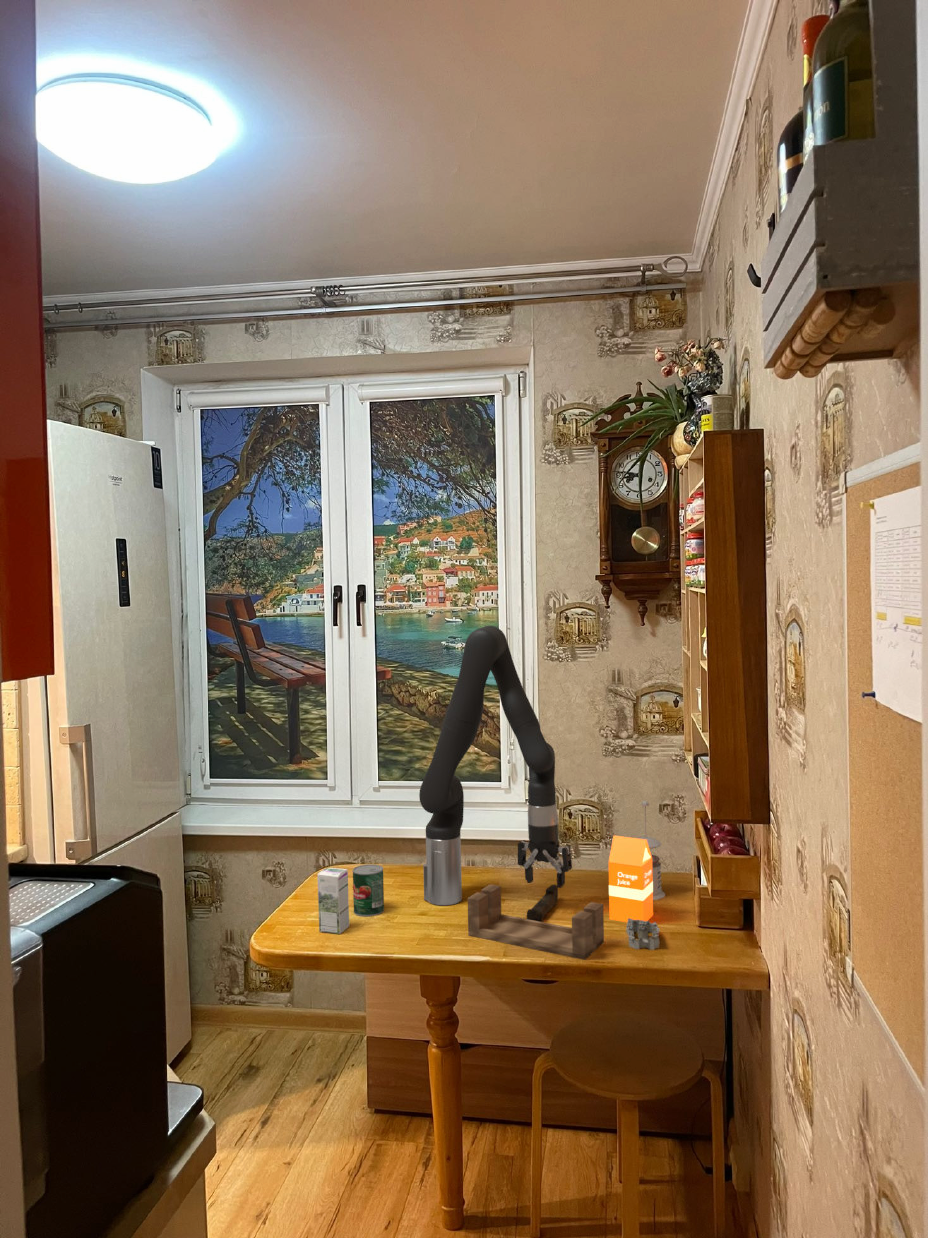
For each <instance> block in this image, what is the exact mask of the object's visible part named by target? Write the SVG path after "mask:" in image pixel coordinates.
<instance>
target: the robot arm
mask: <svg viewBox="0 0 928 1238" xmlns="http://www.w3.org/2000/svg"><path fill="white" fill-rule="evenodd" d="M459 669H460V670H459V672H458V673H459V674H458V677H457V680H456V684H455V686H454V689H453V691H452V695H451V697H450V700H449V703H448V707H447V709H446V712H445V714H444V715H445V716H444V718H443V722H442V725H441V726H442V727H441V730H440V733H439V736H438V740H437V742H436V746H435V749H434V753H433V755H432V758H431V761H430V763H429V766H428V768H427V771H426V773H425V776H424V778H423V781H422V782H421V785H420V788H419V795H418V797H419V803H420V805H421V807H422V809H423V810H424V811H425V812H427V813H429V814H432V816H431V818H430V820H429V821H428V822H427V824H426V827H425V850H426V851H425V853H426V855H425V856H426V861H425V862H426V863H424V864H423V866H422V867H423V900H424V901H427V902H428V903H430V904H432V905H435V906H452V905H455V904H459V902H462V899H463V891H462V889H463V888H462V884H463V882H462V879H463V878H462V847H461V846H462V844H461V842H462V841H461V839H462V838H461V837H462V836H461V829H462V826H463V823H464V809H465V808H464V805H465V804H464V802H465V801H464V799H465V798H464V789H463V788H464V787H463V784H462V782H461V780H460V779H459V778H458V777H457V776H456V775H455V774H456V771H457V768H458V767H459V764H460V763H461V761H462V759H464V757H465V756H466V755H467V753H468V751H469V750H470V748H471V747H472V745H473V743H474V741H475V739H476V737H477V734H478V731H479V728H480V725H481V721H482V718H483V715H484V714H483V712H484V706H485V704H484V703H485V702H484V701H485V687H486V683H487V680H488V678H489V675H490V672H491V674H492V675H493V677H494V682H495V683H496V686H497V690H498V694H499V698H500V703H501V706H502V710H503V713H504V715H505V718H506V719H507V722H508V724H509V726H510V728H511V730H512V732H513V734H514V735H515V738H516V741H517V743H518V746H519V749H520V752H521V754H522V757H523V759H524V762H525V764H526V766H527V767H528V777H529V778H528V779H529V781H528V786H527V798H528V799H527V802H528V805H527V806H528V808H527V827H528V842H527V841H526V840H525V839H524V840H521V841H520V842H518V843H517V865H518V866H521V867H523V868H524V878H525V881H526V883H527V884H532V883H533V882H534V867H533V865H534V864H535V862H536V861H537V862H544V863H550V865H551V866H552V867H553V868H554V869H555V870H556V872H557V873H556V885H557V888H558V889H561V888H563V887H564V885H565V883H566V873H568V872H569V871H570V870H572V869H573V862H572V852H571V851H572V850H571V846H570V845H566V846H560V844H559V825H558V824H559V823H558V822H559V818H558V817H559V816H558V809H557V796H556V794H557V792H556V784H555V777H556V775H555V773H556V754H555V750H554V748H553V746H552V744H550V743H549V742H547V741H546V739H545V737H544V735H543V733H542V731H541V730H542V729H541V725H540V721H539V719H538V717H537V715H536V713H535V711H534V709H533V706H532V704H531V702H530V700H529V698H528V696H527V694H526V692H525V690H524V687H523V684H522V682H521V680H520V677H519V675H518V672H517V669H516V666H515V663H514V660H513V657H512V653H511V649H510V647H509V643H508V640H507V637H506V635H505V633H504V632H503V630H501V629H500V628H498V627H497V626H495V625H484V626H483V627H478V628H477V629H475V630H473V631H472V632H471V633H470V634H469V635H468V636H467V638H466V639H465V644H464V647H463V654H462V658H461V663H460V668H459ZM527 850H529V852H530V853H531V854H530V855H529V856H528V858H527ZM559 853H560V855H561V857H562V858H561V857H560V855H559Z"/></svg>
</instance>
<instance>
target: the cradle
mask: <svg viewBox="0 0 928 1238" xmlns="http://www.w3.org/2000/svg"><path fill="white" fill-rule="evenodd" d="M604 918H605V917H604V903H599V902H594V901H591V902H589V903H588V904H586V906H584V907H583V910H579V911H578V912H577V913H576V914H574V915H573V916H571V927H570V926H564V925H559V924H554V923H550V922H549V923H548V922H545V921H542V922H539V921H534V920H529V919H527V918H525V917H524V918H523V917H519V916H518V917H517V916H512V915H507V914H503V913H502V887H501V885H496V884H489V885H487V886H485V887H483V888H482V889H480V892H479V891H477V892H475V893H473V894H472V895H470V896H469V897H467V926H468V927H467V931H468V933H467V934H468V936H470V937H474V938H479V939H484V940H490V941H494V942H498V943H503V944H509V945H513V946H517V947H521V948H527V949H531V950H537V951H542V952H545V953H550V954H551V953H552V954H556V955H561V956H566V957H569V958H575V959H578V960H585V961H586V959H588V958H589V957H590V956H591V955H592V954H593V953H594V952H595V951H596V950H598V948H600V947H601V946H602V945H603V944H604V943H605V934H604V933H605V931H604V927H605V925H604V921H605V920H604Z"/></svg>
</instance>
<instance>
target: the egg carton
mask: <svg viewBox="0 0 928 1238" xmlns="http://www.w3.org/2000/svg"><path fill="white" fill-rule="evenodd" d="M625 932H626V934H627V937H628V946H629V947H630V948H633V949H634V950H640V949H641V948H646V949H649V950H651V951H652V950H653V951H654V950H655V949H658V948H659V947H660V938H659V933H660V928H659V926H658V923H657V922H656V921H654V922H653V923H652V922H650V921H649V920H648V921H643V920H638V919H637V920H633V919H630V918H628V921H627V922H626V930H625ZM635 933H637V939H636V937H635ZM649 933H651V934H652V936H649Z"/></svg>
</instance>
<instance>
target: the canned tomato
mask: <svg viewBox="0 0 928 1238" xmlns="http://www.w3.org/2000/svg"><path fill="white" fill-rule="evenodd" d="M384 885H385V884H384V867H383V866H381V865H378V864H372V863H371V864H369V863H368V864H362V865H357V866H355V867H354V868H353V869H352V891H353V892H352V895H353V898H352V899H353V914H354V915H355V916H359V917H365V918H366V917H375V916H378V915H381V914H382V913H384V912H385V896H384V893H385V892H384V891H385V889H384V887H385V886H384Z"/></svg>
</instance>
